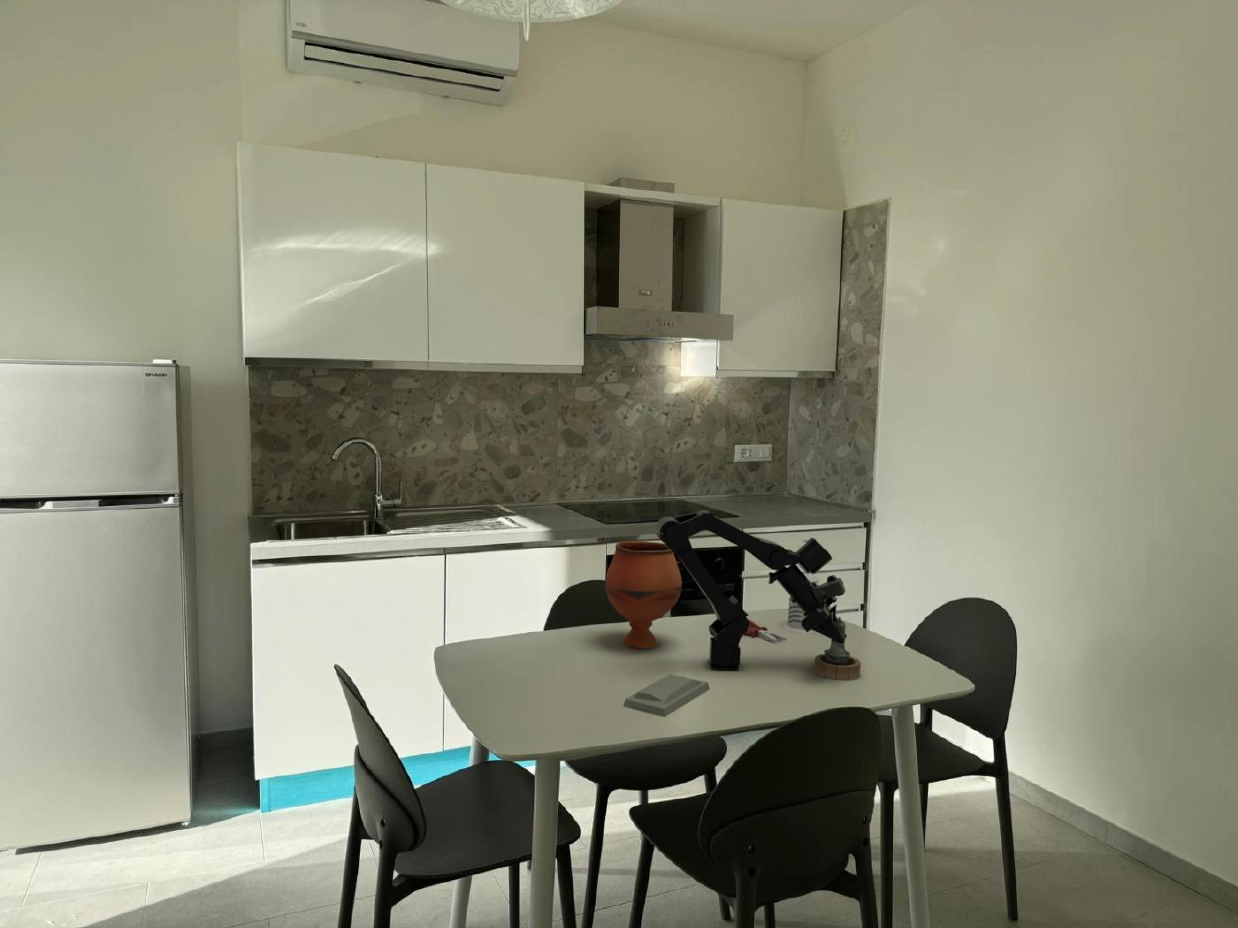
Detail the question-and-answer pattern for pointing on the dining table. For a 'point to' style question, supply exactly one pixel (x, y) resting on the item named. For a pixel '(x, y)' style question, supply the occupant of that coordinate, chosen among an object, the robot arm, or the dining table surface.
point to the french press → (798, 610)
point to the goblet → (643, 587)
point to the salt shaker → (838, 647)
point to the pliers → (761, 633)
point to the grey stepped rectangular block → (667, 695)
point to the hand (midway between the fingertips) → (844, 640)
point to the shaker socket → (837, 668)
